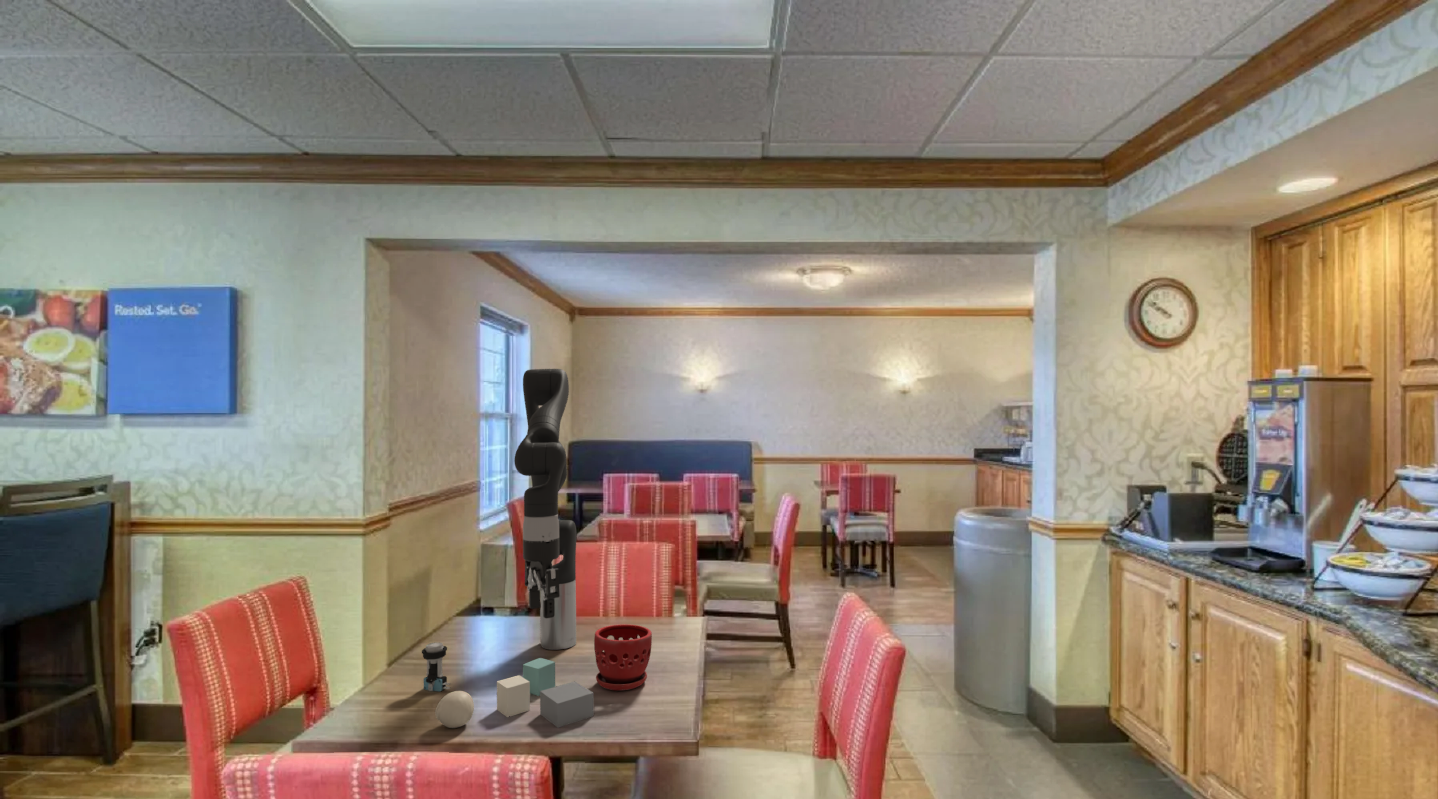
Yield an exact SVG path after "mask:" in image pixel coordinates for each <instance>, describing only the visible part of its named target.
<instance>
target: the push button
mask: <svg viewBox="0 0 1438 799" xmlns="http://www.w3.org/2000/svg"><path fill="white" fill-rule="evenodd" d="M447 651H448V647H447V646H446V645H444V643H443V642H440V641H439V642H431V643H428V644H426V645H425V648H422V649H421V654H422V657H423V659H425V660H426V673H425V677H424V678H423V690H426V691H428V692H441V691H444V690H445V689H446V690H450V689H451V687H450V685H451V684H452V683H451V682H448V680H447V679H448V678H447V675H444V674H443V658H444V657H445V656H447Z"/></svg>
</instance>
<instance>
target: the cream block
mask: <svg viewBox="0 0 1438 799" xmlns="http://www.w3.org/2000/svg"><path fill="white" fill-rule="evenodd" d="M496 711H498V712H499V713H501V714H502V715H503V716H505V717H506V718H510V717H512V716H515V715H519V714H522V713H525V712H528V711H531V693H530V682H529V681H528V680H526V679H524V678H523V676H522V675H520V674H518V675H515V676H512V677H508V678H504V679H501V680H497V681H496ZM509 716H510V717H509Z"/></svg>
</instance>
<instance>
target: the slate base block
mask: <svg viewBox="0 0 1438 799" xmlns="http://www.w3.org/2000/svg"><path fill="white" fill-rule="evenodd" d="M539 699H540V700H539V704H540V705H539V708H540V709H539V712H540V713H539V714H540V716H542V717H543V718H544V719H546V720H547V721H549V723H550V724H553V725H554V726H555V727H556V728H561V727H565V726H568V725H570V724H573V723H574V724H575V723H576V722H580V721H583V720H586V719H589V718H593V717H594V712H595V710H594V709H595V708H594V692H593V691H592V690H590V689H588V688H586V687H585V686H583V685H581V684H580V683H578V682H577V681H576V680H574V681H571V682H567V683H564V684H560V685H557V686H556V685H555V687H553V688H549V689H546V690H542V691H540V696H539Z"/></svg>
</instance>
